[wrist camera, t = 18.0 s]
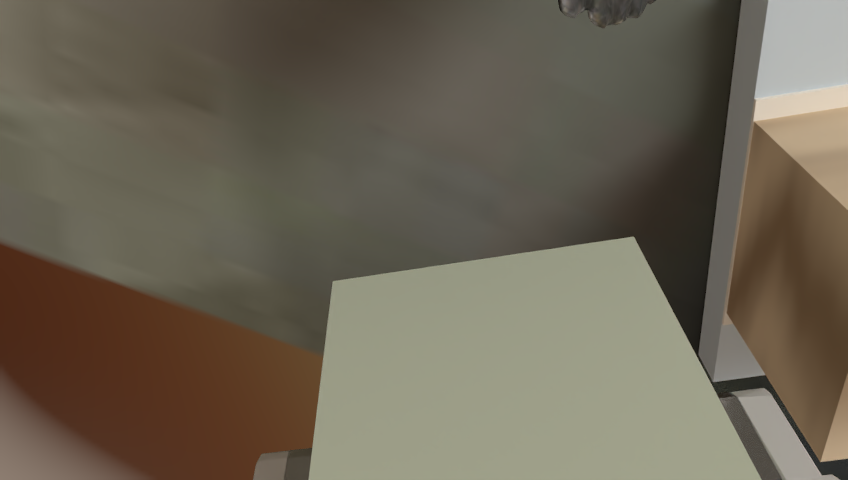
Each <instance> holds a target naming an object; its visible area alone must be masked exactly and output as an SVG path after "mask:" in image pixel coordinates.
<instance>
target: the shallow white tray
mask: <svg viewBox="0 0 848 480" xmlns="http://www.w3.org/2000/svg"><path fill="white" fill-rule="evenodd" d="M841 107H848V0H742V1H741V9H740V18H739V26H738V34H737V42H736V50H735V58H734V67H733V75H732V83H731V91H730V99H729V108H728V116H727V124H726V132H725V140H724V149H723V157H722V165H721V173H720V181H719V190H718V198H717V206H716V214H715V222H714V231H713V239H712V247H711V255H710V263H709V272H708V280H707V288H706V296H705V304H704V312H703V321H702V329H701V337H700V345H699V353H698V355H699V357H700V359H701V360H702V362H703V364H704V366H705V368H706V370H707V372H708V373H709V375H710V377H711V379H712V381H713V382H718V381H725V380H732V379H740V378H747V377H754V376H761V375H765V373H764V372H763V370H762V369H761V367H760V365H759V364H758V362H757V361H756V359H755V357H754V356H753V354H752V353H751V351H750V349H749V348H748V346H747V345H746V343H745V342H744V340H743V338H742V337H741V335H740V334H739V332H738V330H737V329H736V327H735V326H734V324H733V322H732V321H731V319H730V318H729V316H728V315H727V306H728V299H729V293H730V286H731V279H732V272H733V265H734V258H735V251H736V244H737V237H738V230H739V223H740V216H741V209H742V202H743V195H744V188H745V181H746V174H747V167H748V160H749V153H750V146H751V140H752V133H753V126H754V121H760V120H766V119H772V118H778V117H785V116H791V115H797V114H804V113H810V112H816V111H822V110H829V109H835V108H841Z"/></svg>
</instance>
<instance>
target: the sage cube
mask: <svg viewBox="0 0 848 480" xmlns="http://www.w3.org/2000/svg"><path fill="white" fill-rule="evenodd" d="M309 480H761V478H760V476H759V474H758V472H757V470H756V468H755V466H754V464H753V463H752V461H751V459H750V457H749V455H748V453H747V451H746V449H745V447H744V445H743V443H742V442H741V440H740V438H739V436H738V434H737V432H736V430H735V428H734V426H733V424H732V423H731V421H730V419H729V417H728V415H727V413H726V411H725V409H724V407H723V405H722V404H721V402H720V400H719V398H718V396H717V394H716V392H715V390H714V388H713V386H712V385H711V383H710V381H709V379H708V377H707V375H706V373H705V371H704V369H703V367H702V365H701V364H700V362H699V360H698V358H697V356H696V354H695V352H694V350H693V348H692V346H691V345H690V343H689V341H688V339H687V337H686V335H685V333H684V331H683V329H682V327H681V326H680V324H679V322H678V320H677V318H676V316H675V314H674V312H673V310H672V308H671V306H670V305H669V303H668V301H667V299H666V297H665V295H664V293H663V291H662V289H661V287H660V286H659V284H658V282H657V280H656V278H655V276H654V274H653V272H652V270H651V268H650V267H649V265H648V263H647V261H646V259H645V257H644V255H643V253H642V251H641V249H640V248H639V246H638V244H637V242H636V240H635V238H634V237H628V238H621V239H614V240H608V241H601V242H594V243H587V244H581V245H574V246H567V247H560V248H554V249H547V250H540V251H533V252H527V253H520V254H513V255H507V256H500V257H493V258H486V259H480V260H473V261H466V262H459V263H453V264H446V265H439V266H433V267H426V268H419V269H412V270H406V271H399V272H392V273H385V274H379V275H372V276H365V277H358V278H352V279H345V280H338V281H333V283H332V292H331V300H330V308H329V316H328V324H327V332H326V341H325V349H324V357H323V365H322V373H321V382H320V390H319V398H318V406H317V414H316V423H315V431H314V439H313V447H312V455H311V463H310V472H309Z"/></svg>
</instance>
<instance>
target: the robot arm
mask: <svg viewBox="0 0 848 480" xmlns="http://www.w3.org/2000/svg"><path fill="white" fill-rule="evenodd" d="M717 396H718V398H719V400H720V402H721V404H722V405H723V407H724V409H725V411H726V413H727V415H728V417H729V419H730V421H731V423H732V424H733V426H734V428H735V430H736V432H737V434H738V436H739V438H740V440H741V442H742V443H743V445H744V447H745V449H746V451H747V453H748V455H749V457H750V459H751V461H752V463H753V464H754V466H755V468H756V470H757V472H758V474H759V476H760V478H761V480H840V479H838V478H837V477H835V476H833V475H821V473H820V472H819V470H818V469H817V467H816V465H815V464H814V462H813V461H812V459H811V457H810V456H809V454H808V453H807V451H806V449H805V448H804V446H803V445H802V443H801V441H800V440H799V438H798V437H797V435H796V433H795V432H794V430H793V429H792V427H791V425H790V424H789V422H788V421H787V419H786V417H785V416H784V414H783V413H782V411H781V409H780V408H779V406H778V405H777V403H776V401H775V400H774V398H773V397H772V395H771V393H770V392H769V391H767V390H766V389H765V388H758V389H751V390H743V391H736V392H731V393H729V392H723V393H717ZM311 455H312V448H309V449H299V450H290V451H282V452H274V453H265V454H261V456H260V458H259V460H258V462H257V463H256V467H255V472H254V478H253V480H309V472H310V463H311Z"/></svg>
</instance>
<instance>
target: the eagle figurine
mask: <svg viewBox="0 0 848 480" xmlns="http://www.w3.org/2000/svg"><path fill="white" fill-rule="evenodd" d="M654 1H656V0H558V3H559V8H560V11H561V12H562V13H563V14H564V15H566V16H568V17H572V18H575V17H576V16H577V15H578V14H579V13H582V12H583V11H584V10H587V11H588V16H589V19H590V20H591V22H592V23H593V24H595V25H597V26H599V27H601V28H605V27H606V26H607V25H618V24H620V23H622V22H623V21H625V20H626V17H627V18H638V17H639V16H640V15H641V14H642V13H643V11H644V9H645V7H646V5H647V3H649V4H652V3H653V2H654Z"/></svg>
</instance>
